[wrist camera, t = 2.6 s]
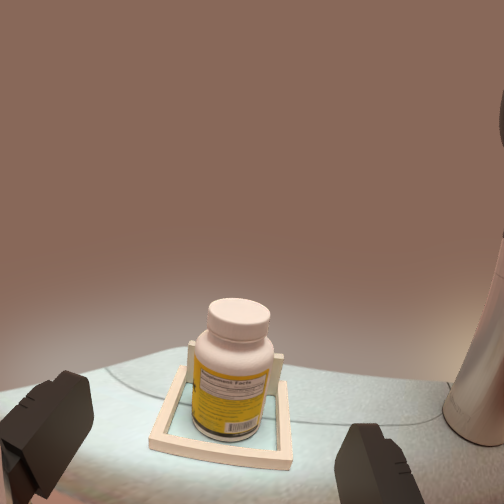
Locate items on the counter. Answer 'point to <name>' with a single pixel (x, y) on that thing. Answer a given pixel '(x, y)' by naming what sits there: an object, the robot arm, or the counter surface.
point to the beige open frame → (218, 451)
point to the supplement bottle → (232, 370)
